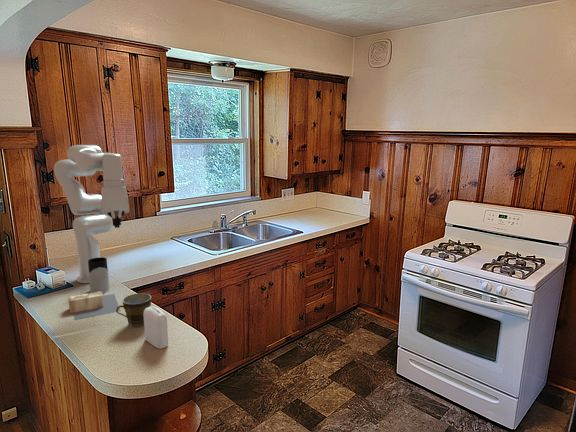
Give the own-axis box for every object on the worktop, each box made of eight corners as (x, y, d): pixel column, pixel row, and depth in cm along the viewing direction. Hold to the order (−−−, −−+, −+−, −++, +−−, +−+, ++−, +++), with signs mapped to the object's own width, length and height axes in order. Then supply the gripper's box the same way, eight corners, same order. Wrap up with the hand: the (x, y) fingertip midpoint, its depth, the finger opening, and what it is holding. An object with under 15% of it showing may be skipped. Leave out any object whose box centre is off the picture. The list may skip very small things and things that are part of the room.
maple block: (102, 302, 160) (69, 308, 154) (101, 291, 159) (68, 296, 153) (103, 306, 156) (70, 313, 150) (102, 295, 155) (68, 301, 149)
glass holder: (90, 297, 167) (87, 264, 164) (86, 286, 178) (83, 255, 176) (112, 293, 172) (109, 260, 169) (107, 283, 183) (104, 253, 180)
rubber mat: (72, 302, 161) (72, 301, 161) (114, 295, 169) (114, 293, 169) (74, 321, 144) (74, 320, 144) (120, 312, 152) (120, 310, 152)
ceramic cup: (143, 315, 150) (142, 291, 148) (158, 322, 144) (156, 297, 142) (111, 327, 140) (109, 301, 138) (125, 336, 134) (123, 309, 132)
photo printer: (143, 339, 132) (141, 306, 129) (154, 335, 135) (152, 302, 132) (158, 350, 125) (156, 315, 123) (170, 345, 128) (168, 311, 126)
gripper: (131, 182, 166) (134, 223, 169) (92, 183, 158) (96, 227, 162) (134, 183, 159) (137, 227, 163) (94, 185, 152) (98, 230, 155)
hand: (117, 227), depth 162 cm, fingers closed
